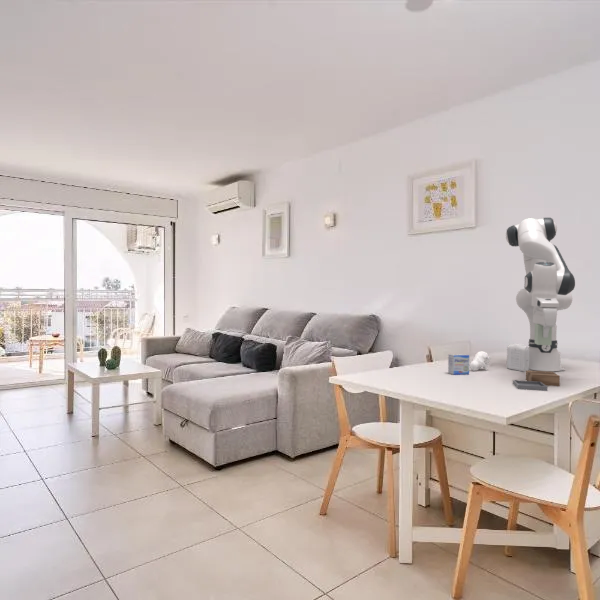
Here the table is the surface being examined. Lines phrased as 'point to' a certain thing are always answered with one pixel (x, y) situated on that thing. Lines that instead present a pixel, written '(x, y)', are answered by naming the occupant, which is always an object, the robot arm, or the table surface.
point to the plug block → (539, 338)
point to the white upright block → (518, 357)
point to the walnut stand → (543, 377)
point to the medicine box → (458, 364)
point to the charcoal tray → (529, 385)
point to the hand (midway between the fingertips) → (543, 336)
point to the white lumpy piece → (480, 361)
